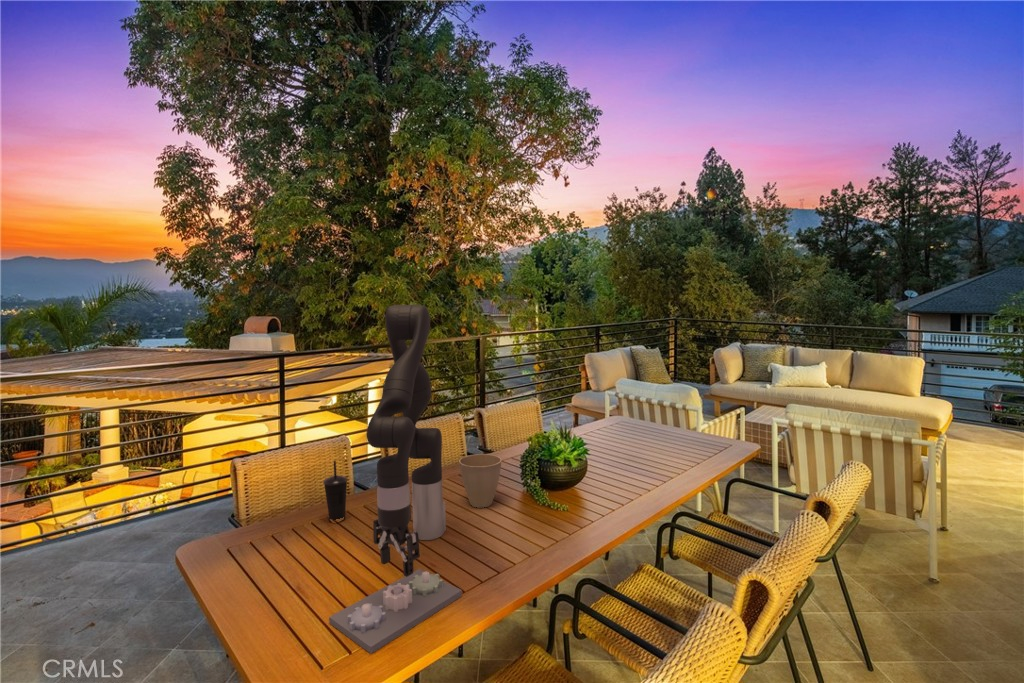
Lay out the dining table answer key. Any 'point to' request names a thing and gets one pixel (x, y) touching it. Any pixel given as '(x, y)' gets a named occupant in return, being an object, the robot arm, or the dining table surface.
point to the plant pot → (480, 478)
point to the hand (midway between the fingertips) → (396, 568)
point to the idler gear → (397, 597)
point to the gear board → (382, 626)
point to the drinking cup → (336, 495)
